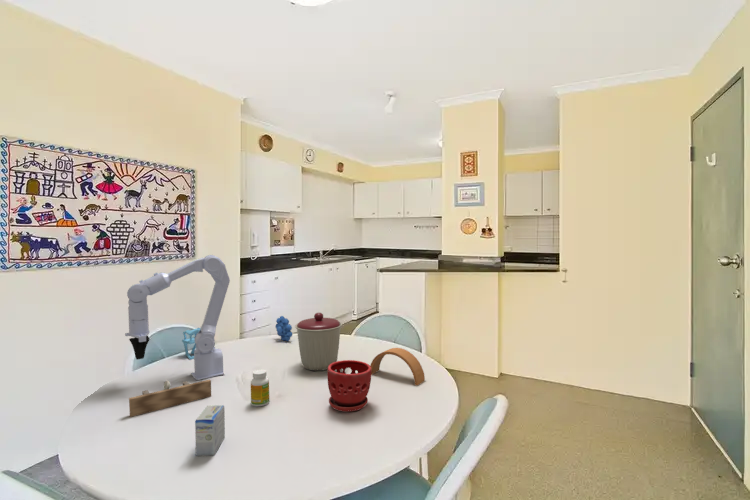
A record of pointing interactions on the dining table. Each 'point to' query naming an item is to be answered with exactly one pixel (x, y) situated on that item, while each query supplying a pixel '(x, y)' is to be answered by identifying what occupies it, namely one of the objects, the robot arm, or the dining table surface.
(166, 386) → the pacifier
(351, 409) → the plant pot
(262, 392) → the supplement bottle
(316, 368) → the canister
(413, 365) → the arch
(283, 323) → the grapes
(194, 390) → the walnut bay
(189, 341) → the chair
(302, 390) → the dining table surface
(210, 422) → the medicine box
